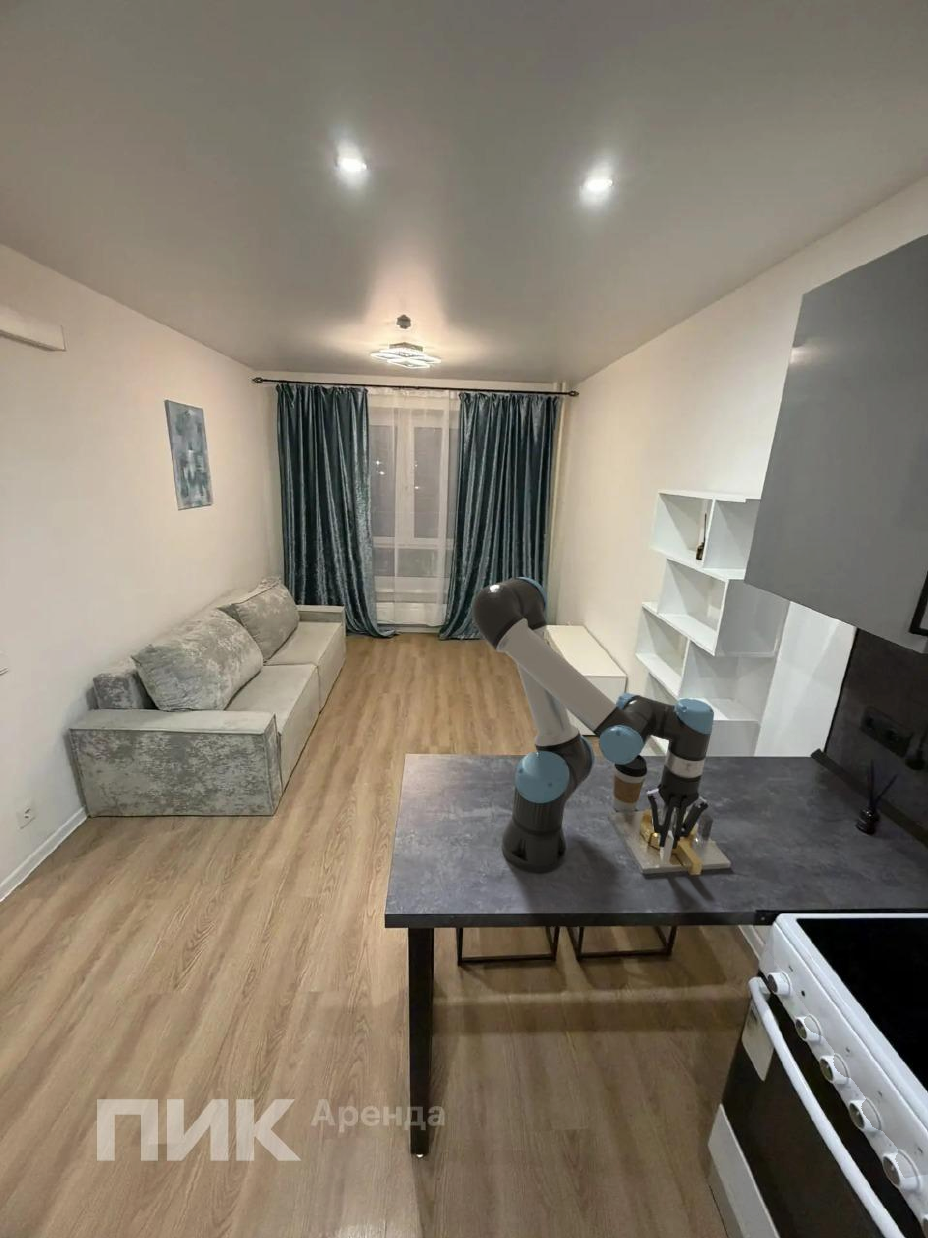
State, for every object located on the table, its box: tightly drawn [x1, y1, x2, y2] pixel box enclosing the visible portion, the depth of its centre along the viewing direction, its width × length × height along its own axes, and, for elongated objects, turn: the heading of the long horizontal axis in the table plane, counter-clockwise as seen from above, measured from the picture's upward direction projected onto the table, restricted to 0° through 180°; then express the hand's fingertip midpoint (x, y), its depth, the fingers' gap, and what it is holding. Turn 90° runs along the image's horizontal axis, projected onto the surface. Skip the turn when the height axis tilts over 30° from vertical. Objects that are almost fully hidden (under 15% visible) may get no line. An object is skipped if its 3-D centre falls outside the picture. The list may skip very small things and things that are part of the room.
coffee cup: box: [612, 754, 648, 812], centre depth 134 cm, size 8×8×15 cm
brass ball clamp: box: [640, 808, 703, 876], centre depth 120 cm, size 18×12×4 cm, turn 8°
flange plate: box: [607, 808, 732, 875], centre depth 123 cm, size 22×21×8 cm
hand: (664, 857), depth 115 cm, fingers closed
